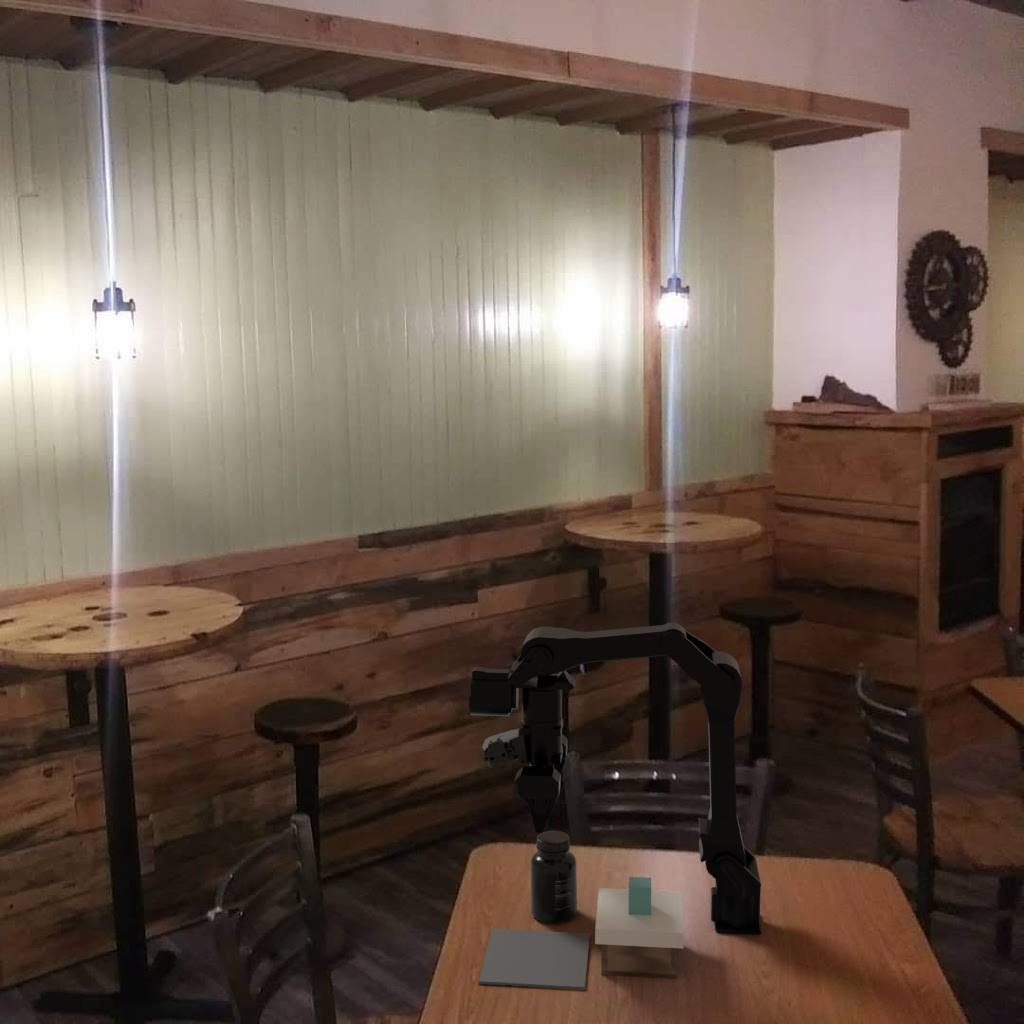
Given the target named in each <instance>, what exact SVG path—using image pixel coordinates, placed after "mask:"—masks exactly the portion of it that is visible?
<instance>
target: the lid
mask: <svg viewBox="0 0 1024 1024" xmlns="http://www.w3.org/2000/svg"><path fill="white" fill-rule="evenodd" d="M682 895H683V894H682V891H671V890H669V891H668V890H652V877H647V876H646V877H645V876H644V877H643V876H628V888H608V887H607V888H606V887H598V895H597V904H596V905H597V906H596V917H595V930H594V931H595V932H594V933H595V934H594V935H595V936H594V937H595V938H594V939H595V940H594V941H595V942H594V943H595V945H602V944H605V945H624V946H643V947H662V948H677V949H684V944H685V943H684V941H685V939H684V937H685V936H684V935H685V932H684V931H685V930H684V913H683V910H684V909H683V897H682Z"/></svg>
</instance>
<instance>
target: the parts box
mask: <svg viewBox="0 0 1024 1024" xmlns="http://www.w3.org/2000/svg"><path fill="white" fill-rule="evenodd" d="M600 947H601V953H600V954H601V955H600V956H601V959H600V960H601V962H600V964H601V965H600V968H601V969H600V974H601V975H602V976H603V975H604V976H620V977H621V976H623V977H640V978H641V977H642V978H655V977H656V978H657V979H658V978H659V979H675V980H676V979H677V978H678V977H677V976H678V975H677V974H678V973H677V970H678V968H677V967H678V948H662V947H643V946H624V945H605V944H601V946H600ZM662 977H663V978H662Z"/></svg>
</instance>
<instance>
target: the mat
mask: <svg viewBox="0 0 1024 1024" xmlns="http://www.w3.org/2000/svg"><path fill="white" fill-rule="evenodd" d="M590 936H591V934H590V933H587V932H586V933H584V932H565V931H562V932H561V931H546V930H527V929H510V928H509V929H506V928H505V929H504V928H491V931H490V935H489V939H488V943H487V948H486V951H485V956H484V959H483V963H482V967H481V970H480V975H479V979H478V985H493V986H506V985H512V986H511V987H514V986H513V985H517V986H516V987H523V986H528V987H527V988H540V989H541V988H544V989H546V988H547V989H561V990H578V991H581V990H582V991H585V990H586V982H587V981H586V980H587V970H588V962H589V961H588V958H589V951H590V950H589V949H590V939H591V937H590Z"/></svg>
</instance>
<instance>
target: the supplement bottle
mask: <svg viewBox="0 0 1024 1024" xmlns="http://www.w3.org/2000/svg"><path fill="white" fill-rule="evenodd" d="M570 842H571V841H570V836H569V835H568V834H567V833H566V832H563V831H560V830H548V831H543V833H538V835H537V836H536V846H535V847H536V851H535V852H534V853H533V854H532V855H531V858H530V861H529V862H530V863H529V867H530V868H529V869H530V871H529V872H530V874H529V876H530V911H531V912H530V913H531V915H532V916H533V917H534V918H535V919H536V920H537V921H539V922H542V923H545V924H551V925H554V924H556V925H557V924H564V923H567V922H569V921H570V922H571V920H573V919H574V918H575V916H576V915H577V913H578V880H577V879H578V875H577V873H578V872H577V871H578V870H577V869H578V867H577V866H578V865H577V864H578V863H577V858H576V856H575V854H574V853H573V852H571V843H570Z"/></svg>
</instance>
